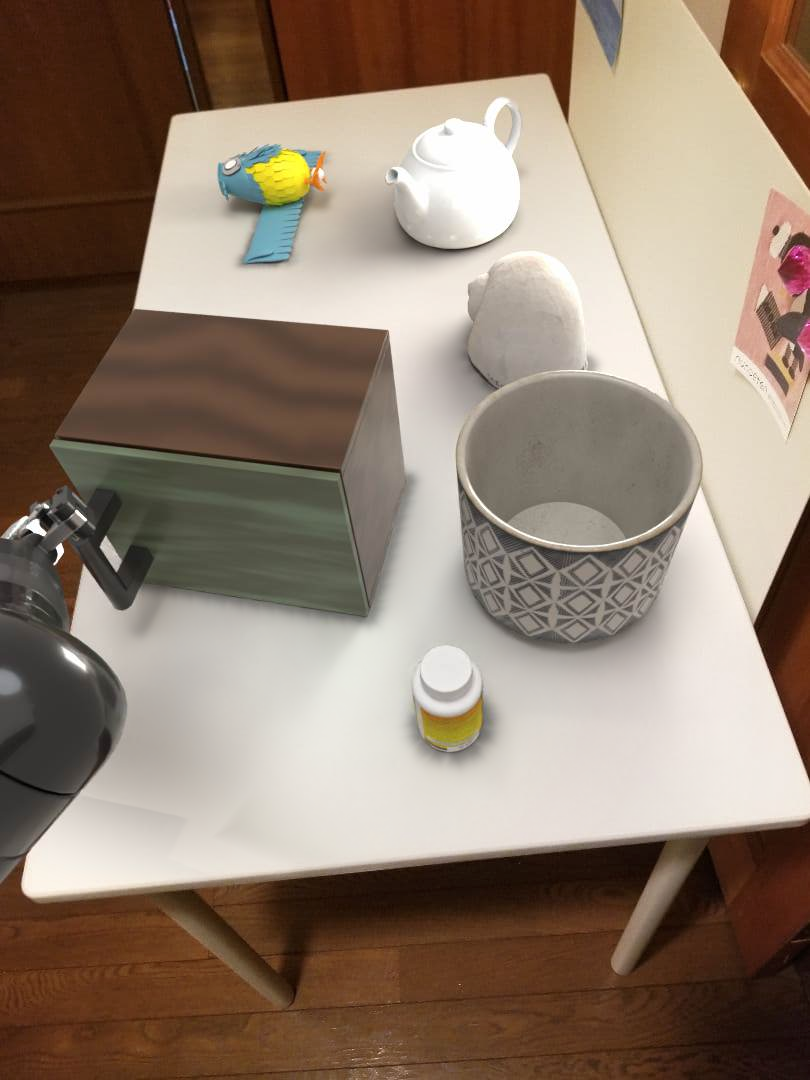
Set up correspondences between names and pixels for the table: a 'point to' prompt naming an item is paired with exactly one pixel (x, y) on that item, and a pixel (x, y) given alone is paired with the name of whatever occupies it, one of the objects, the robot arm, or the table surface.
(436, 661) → the supplement bottle
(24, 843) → the robot arm
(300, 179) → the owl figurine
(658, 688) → the table surface
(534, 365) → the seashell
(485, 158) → the teapot
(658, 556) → the planter
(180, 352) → the cupboard
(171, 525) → the cupboard door
